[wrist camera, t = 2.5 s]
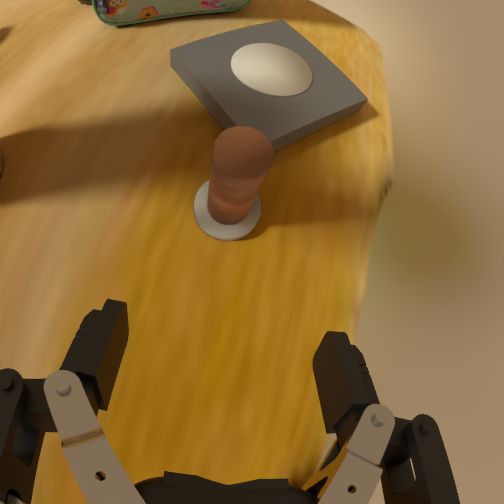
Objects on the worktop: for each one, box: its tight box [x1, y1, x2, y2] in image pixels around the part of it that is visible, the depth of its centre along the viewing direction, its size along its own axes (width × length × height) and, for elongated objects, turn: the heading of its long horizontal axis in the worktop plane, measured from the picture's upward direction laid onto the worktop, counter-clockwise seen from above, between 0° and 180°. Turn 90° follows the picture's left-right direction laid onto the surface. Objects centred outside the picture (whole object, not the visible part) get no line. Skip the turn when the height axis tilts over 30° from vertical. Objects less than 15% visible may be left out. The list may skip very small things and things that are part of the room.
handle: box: [194, 126, 274, 241], centre depth 25 cm, size 6×6×11 cm
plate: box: [170, 20, 368, 151], centre depth 33 cm, size 18×18×3 cm
